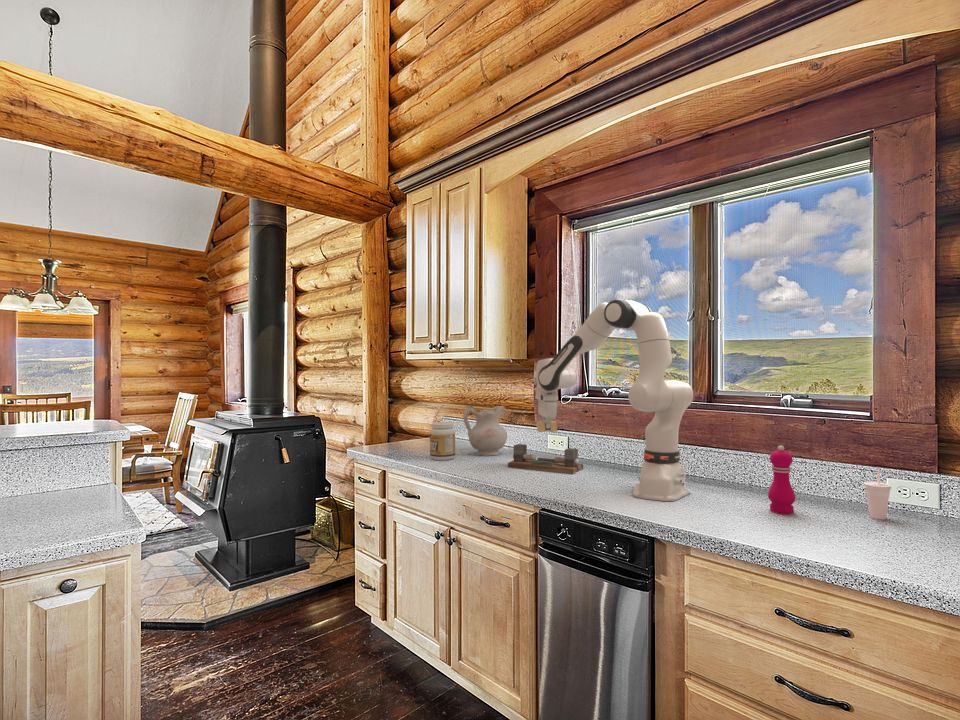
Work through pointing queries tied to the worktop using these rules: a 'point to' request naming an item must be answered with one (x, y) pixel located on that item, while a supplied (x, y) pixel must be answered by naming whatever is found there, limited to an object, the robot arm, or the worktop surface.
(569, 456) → the shaft stand
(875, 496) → the smoothie
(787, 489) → the pepper mill
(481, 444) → the ceramic pitcher
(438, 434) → the supplement tub
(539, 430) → the coupling
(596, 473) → the worktop surface
